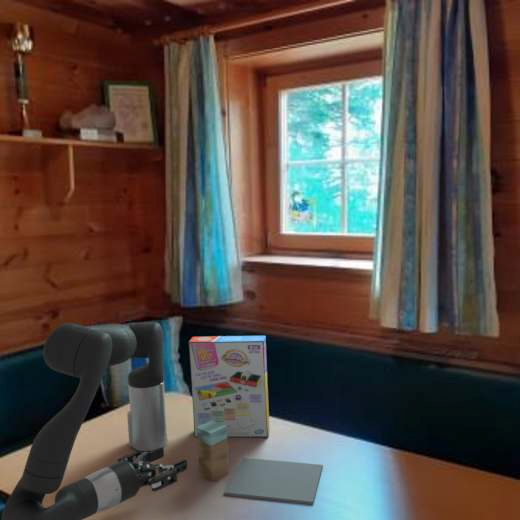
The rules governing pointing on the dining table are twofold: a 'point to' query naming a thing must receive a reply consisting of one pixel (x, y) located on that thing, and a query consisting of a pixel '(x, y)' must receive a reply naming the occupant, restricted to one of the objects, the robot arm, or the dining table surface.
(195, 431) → the game box
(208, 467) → the brown and blue block
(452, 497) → the dining table surface
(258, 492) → the rubber mat
